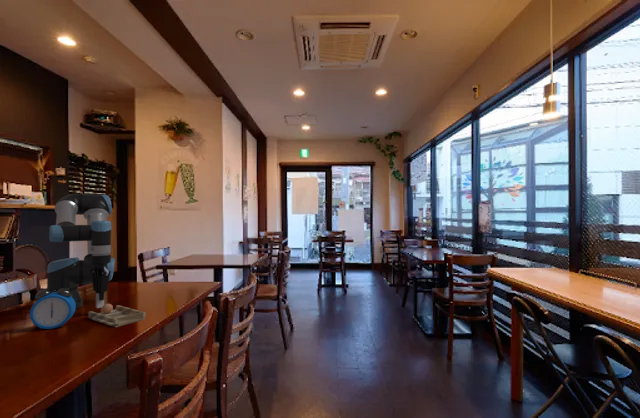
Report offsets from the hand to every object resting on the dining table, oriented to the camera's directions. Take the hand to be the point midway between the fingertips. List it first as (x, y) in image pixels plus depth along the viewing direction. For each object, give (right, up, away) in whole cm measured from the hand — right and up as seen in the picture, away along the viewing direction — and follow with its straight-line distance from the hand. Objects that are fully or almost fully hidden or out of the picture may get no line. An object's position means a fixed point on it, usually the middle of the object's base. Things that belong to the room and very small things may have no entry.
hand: (99, 307), depth 144 cm
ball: (+5, 0, -3) cm, 6 cm away
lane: (+12, -3, -7) cm, 15 cm away
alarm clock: (-6, -3, -18) cm, 19 cm away
